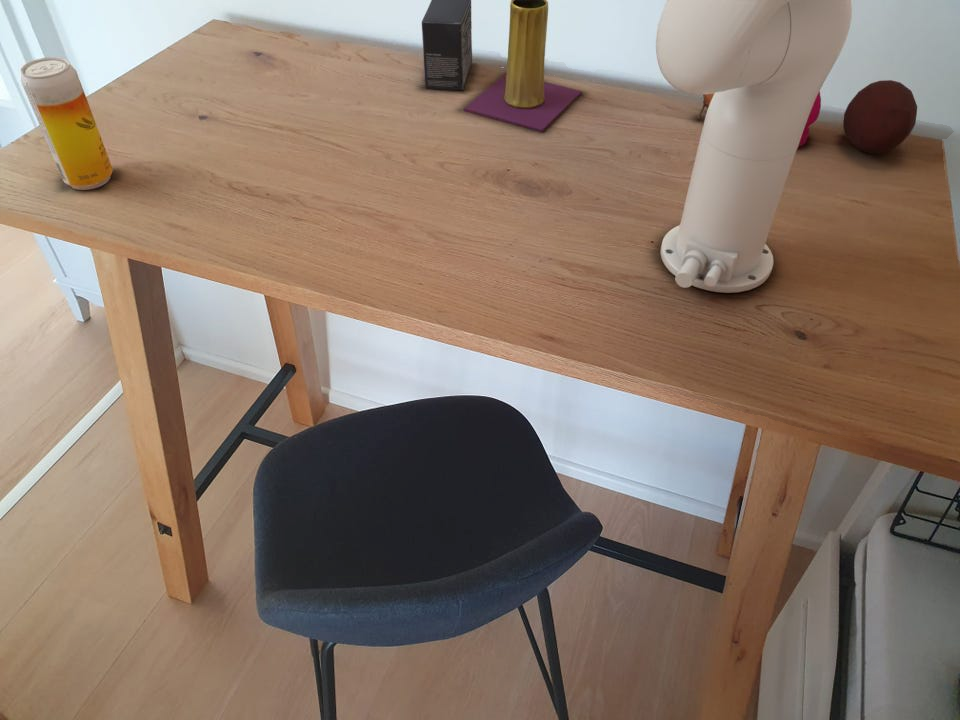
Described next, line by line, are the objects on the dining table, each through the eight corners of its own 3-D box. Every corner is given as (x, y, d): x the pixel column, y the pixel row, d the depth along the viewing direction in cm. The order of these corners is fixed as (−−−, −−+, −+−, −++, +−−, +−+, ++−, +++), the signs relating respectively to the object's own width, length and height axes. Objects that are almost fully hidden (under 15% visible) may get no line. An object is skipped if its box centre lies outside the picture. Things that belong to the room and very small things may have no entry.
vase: (549, 94, 117) (556, -3, 107) (538, 111, 113) (544, 12, 103) (511, 88, 119) (514, -9, 109) (498, 105, 115) (501, 6, 105)
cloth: (542, 132, 110) (542, 129, 109) (463, 110, 114) (463, 108, 114) (581, 93, 118) (581, 91, 118) (507, 75, 123) (507, 72, 123)
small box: (434, 60, 127) (431, -7, 119) (473, 62, 126) (473, -4, 119) (422, 88, 119) (419, 19, 112) (464, 91, 119) (463, 22, 111)
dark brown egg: (893, 131, 111) (920, 69, 104) (906, 174, 103) (936, 109, 96) (831, 124, 112) (853, 61, 106) (838, 165, 104) (863, 100, 97)
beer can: (123, 179, 100) (82, 66, 89) (78, 197, 97) (30, 83, 86) (100, 162, 103) (58, 51, 92) (56, 179, 99) (7, 66, 89)
